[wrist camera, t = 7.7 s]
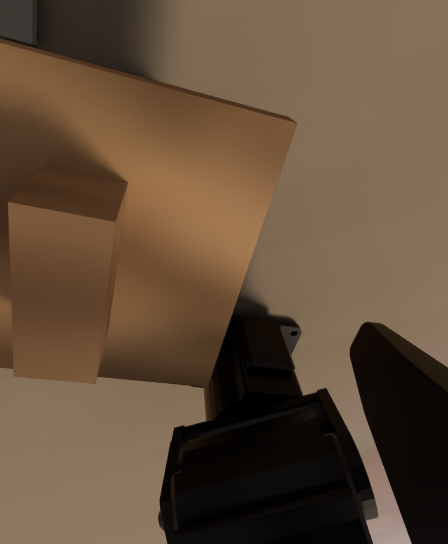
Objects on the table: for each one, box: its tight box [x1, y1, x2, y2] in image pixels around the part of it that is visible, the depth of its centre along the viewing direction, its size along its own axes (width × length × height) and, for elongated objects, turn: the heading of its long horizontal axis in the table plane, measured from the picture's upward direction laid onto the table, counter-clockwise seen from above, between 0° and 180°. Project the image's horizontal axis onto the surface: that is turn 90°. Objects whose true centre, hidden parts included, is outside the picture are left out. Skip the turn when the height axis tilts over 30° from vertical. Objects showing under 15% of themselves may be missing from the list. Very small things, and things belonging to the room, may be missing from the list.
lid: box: [0, 38, 297, 387], centre depth 12 cm, size 12×12×4 cm
